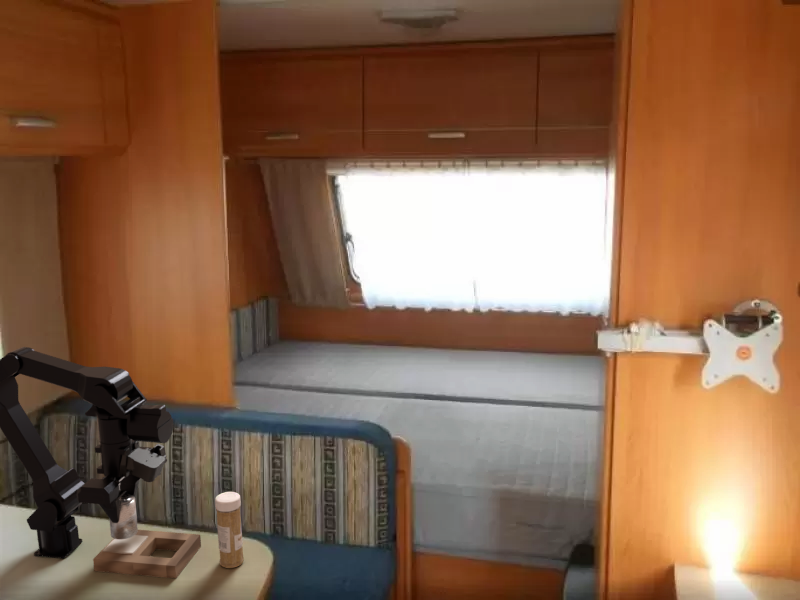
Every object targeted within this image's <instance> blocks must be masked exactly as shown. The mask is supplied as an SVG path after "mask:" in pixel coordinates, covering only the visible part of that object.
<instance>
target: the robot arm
mask: <svg viewBox="0 0 800 600" xmlns="http://www.w3.org/2000/svg"><path fill="white" fill-rule="evenodd" d="M20 375H23V376H24V377H25V376H26V377H29V378H32V379H35V380H39V381H42V382H45V383H49V384H51V385H55V386H58V387H62V388H64V389H68V390H71V391H73V392H75V393H77V394H78V395H79V396H80V397H81V399H82V400H83V401H84V402H88V403H89V404H91V405H92V406H91V407H90V408H89V409H88V410H87V411H85V413H84V415H85V416H86V417H94V418H96V423H97V431H98V432H97V433H98V444H97V445H96V446H95V447H94V452H95V454H100V455H99V456H100V463H101V465H99V466H98V467H97V468H96V473H97V474H98V475H99V474H100V475H104V477H102V478H92V477H91V478H90V479H89V480H87V481H86V482H83V481H82V479H81V478H80V476H79V474H78V473H77V470H76V469H75V468H74V467H72V468H70V469H68V470H67V469H65V468H64V467H61V466H60V465H58V463H57V462H56V460H55V459H54V457H53V455H52V454H51V452H50V449H48V446H47V445H46V444H45V442H44V441H43V438H42V437H41V436H40V434H39V433H38V431H37V429H36V428H35V426H34V424H33V423H32V421H31V419H30V418H29V416H28V415H27V413H26V411H25V409H24V407H23V406H22V404H21V403H20V401H19V384H18V382H17V380H16V379H17V378H16V377H18V376H20ZM126 398H128V400H126V401H125V402H123V403H122V404H120V403H119V402H121V401H122V400H124V399H126ZM147 401H148V399H147V398H146V397H145V396H144V394H143V393H142V391H141V390H140V389H139V387H137V385H136V384H135V382H134V381H133V379H132V377H131V376H130V373H129V372H128V371H127V370H125V369H123V368H119V367H111V366H85V365H82V364H79V363H75V362H72V361H69V360H66V359H62V358H60V357H56V356H53V355H49V354H46V353H43V352H40V351H36V350H35V349H33V348H31V347H26V346H22V347H20V348H16V349H15V350H12V351H9V352H7V353H6V354H5V355H4V356H3V357H1V358H0V430H1V432H2V434H3V435H4V436H5V438H6V440H7V441H8V443H9V444H10V446H11V448H12V449H13V451H14V452H15V454H16V456H17V458H18V459H19V460H20V463H21V464H22V465H23V466H24V469H25V470H26V472H27V473H28V475H29V477H30V478H31V480H32V492H33V493H32V495H33V496H32V497H33V500H34V502H35V504H36V509H35V510H34V511H33V512H32V513H31V515H29V516H28V517H27V518H26V523H27V525H28V527H29V529H30V530H32V531H36V535H37V542H38V543H37V544H38V549H37V550H36V551H34V552H33V556H35V557H42V558H55V559H65V558H67V557H68V556H69V555H70V554H72V552H73V551H74V550H75V549H76V548H77V547H79V545H81V544H82V543H83V539H82V538H80V534H79V525H78V524H76V518H75V516H73V515H74V514H75V513H77V512H78V511H79V510H80V507H81V505H82V504H92V505H93V504H94V505H99V507H100V508H101V509H102V510H103V511H104V513H105V514H106V516H107V517H108V518H110V520H111V521H112V522H113V523H118V522H119V514H120V497H121V496H122V495H123V494H130V495H132V496H134V497H135V498H136V496H137V491H138V488H139V484H140V481H141V479H142V480H143V481H144V482H147V483H152V482H154V481H155V479H157V478H158V477H159V476H160V475H162V471H163V467H164V465H165V464H166V463H167V462H168V459H167V454H166V448H165V445H163V444H166V443H168V442H169V440H170V439H171V437H172V434H173V431H174V418H172V414H171V412H169V411H167V406H166V405H165V404H156V405H154V404H146V403H147ZM139 442H145V443H154V444H156V445H154V446H153V447H147V446H140V443H139ZM110 520H109V521H110Z"/></svg>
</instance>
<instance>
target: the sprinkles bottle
mask: <svg viewBox="0 0 800 600" xmlns="http://www.w3.org/2000/svg"><path fill="white" fill-rule="evenodd" d="M214 505H215V506H214V507H215V511H216V520H217V521H216V527H217V539H218V549H219V565H220V566H222V567H223V568H227V569H233V568H237V567H239V566H241V565H242V564H243V563H244V560H245V558H244V550H243V549H244V548H243V547H244V546H243V543H244V542H243V533H242V532H243V531H242V521H241V505H242V502H241V495H240V494H239V493H237V492H235V491H226V492H222V493H220V494H218V495H216V497H215V499H214Z"/></svg>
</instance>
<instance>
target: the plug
mask: <svg viewBox="0 0 800 600" xmlns="http://www.w3.org/2000/svg"><path fill="white" fill-rule="evenodd" d="M108 518H109V517H108ZM108 520H109V529H110V536H111V538H112V539H127V538H130V537H132V536H134V535H135V534H136V533H137V532H138V530H139V529H138V528H139V527H138V516H137V506H136V496H135V497H134V496H132V495H130V494H123V495H122V496H121V497H120V514H119V522H118V523H113V522H112V521H111V520H110V518H109V519H108Z"/></svg>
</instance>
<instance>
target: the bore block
mask: <svg viewBox="0 0 800 600" xmlns="http://www.w3.org/2000/svg"><path fill="white" fill-rule="evenodd" d="M201 541H202V540H201V534H200V533H199V534H197V533H186V532H175V531H174V532H171V531H159V530H146V529H138V532H137V533H136V534H135V535H134V536H132V537H130V538H127V539H114V538H112V539H111V541H110V542H108V543H107V544H106V546H104V547H103V548H102V549H101V550H100V551H99V553H97V554H96V555H95V556H94V558H93V559H92V561H93V569H94V571H93V572H100V573H109V574H110V573H112V574H120V575H122V574H123V575H133V576H144V577H147V576H148V577H155V578H156V577H157V578H167V579H168V578H169V579H177V578H178V577H179V575H180V574H181V573H182V572H183V570H184V569H185V568H186V567H187V565H188V564H189V563H190V562H191V560H192V559H193V558H194V556H195V555H196V554H197V552H198V551H199V550H198V549H200V548H201V547H202V542H201ZM156 550H161V551H174V552H175V553H174V554H173V556H172V557H161V556H153V553H154V552H155V551H156ZM195 553H196V554H195Z"/></svg>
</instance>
